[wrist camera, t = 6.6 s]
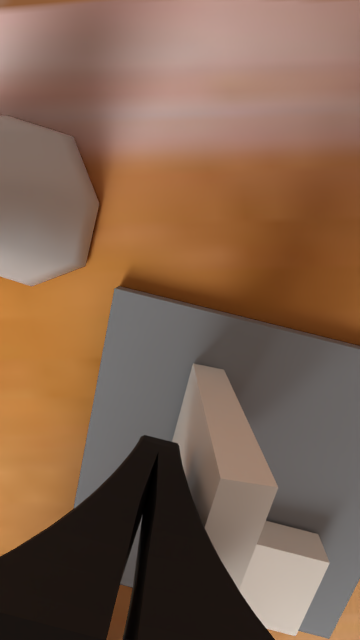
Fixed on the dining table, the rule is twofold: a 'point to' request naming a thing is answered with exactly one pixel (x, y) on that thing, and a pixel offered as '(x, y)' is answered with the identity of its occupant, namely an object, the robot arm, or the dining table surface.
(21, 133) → the flask
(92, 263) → the dining table surface
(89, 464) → the slate mat
